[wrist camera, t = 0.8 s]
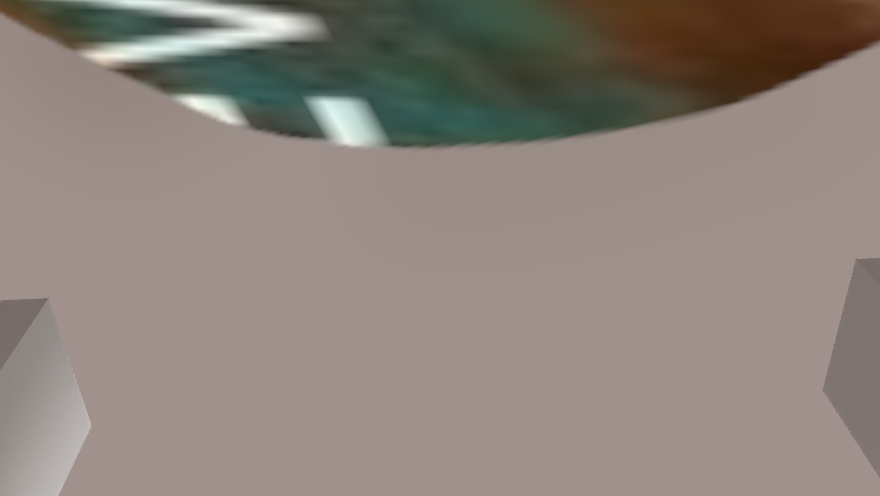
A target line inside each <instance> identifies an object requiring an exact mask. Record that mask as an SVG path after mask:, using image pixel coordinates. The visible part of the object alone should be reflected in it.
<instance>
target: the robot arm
mask: <svg viewBox="0 0 880 496" xmlns="http://www.w3.org/2000/svg"><path fill="white" fill-rule="evenodd" d="M823 391H824V393H825V394H826V396H827V397H828V399H829V400H830V402H831V403H832V405H833V406H834V408H835V410H836V411H837V413H838V414H839V416H840V417H841V419H842V420H843V422H844V423H845V425H846V426H847V428H848V430H849V431H850V433H851V434H852V436H853V437H854V439H855V440H856V442H857V443H858V445H859V446H860V448H861V449H862V451H863V453H864V454H865V456H866V457H867V459H868V460H869V462H870V463H871V465H872V466H873V468H874V469H875V471H876V473H877V474H878V476H879V477H880V258H871V259H856V261H855V265H854V270H853V273H852V277H851V281H850V285H849V289H848V293H847V297H846V301H845V305H844V309H843V313H842V316H841V320H840V324H839V328H838V332H837V336H836V340H835V344H834V348H833V352H832V356H831V360H830V364H829V367H828V372H827V376H826V379H825V383H824V387H823ZM90 428H91V423H90V420H89V417H88V414H87V411H86V408H85V405H84V403H83V400H82V396H81V394H80V390H79V387H78V384H77V382H76V379H75V375H74V372H73V370H72V367H71V364H70V361H69V358H68V355H67V352H66V349H65V346H64V343H63V340H62V337H61V334H60V331H59V328H58V325H57V322H56V319H55V316H54V313H53V310H52V307H51V304H50V301H49V298H44V299H22V300H3V301H1V302H0V496H58V495H59V493H60V491H61V489H62V487H63V485H64V482H65V481H66V478H67V476H68V474H69V472H70V470H71V468H72V466H73V464H74V462H75V459H76V457H77V455H78V453H79V451H80V449H81V447H82V445H83V443H84V441H85V439H86V436H87V434H88V432H89V430H90Z"/></svg>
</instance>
